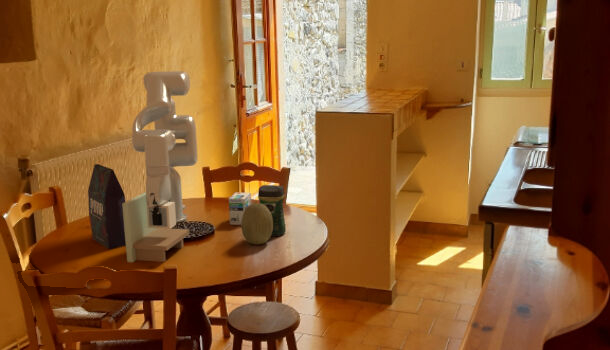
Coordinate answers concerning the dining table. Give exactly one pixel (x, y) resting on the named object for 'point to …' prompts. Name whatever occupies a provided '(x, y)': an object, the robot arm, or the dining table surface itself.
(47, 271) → the dining table surface
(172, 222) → the cabinet block
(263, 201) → the coffee jar
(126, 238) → the pale l-shaped piece
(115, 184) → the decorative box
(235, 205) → the light bulb box
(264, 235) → the fruit
